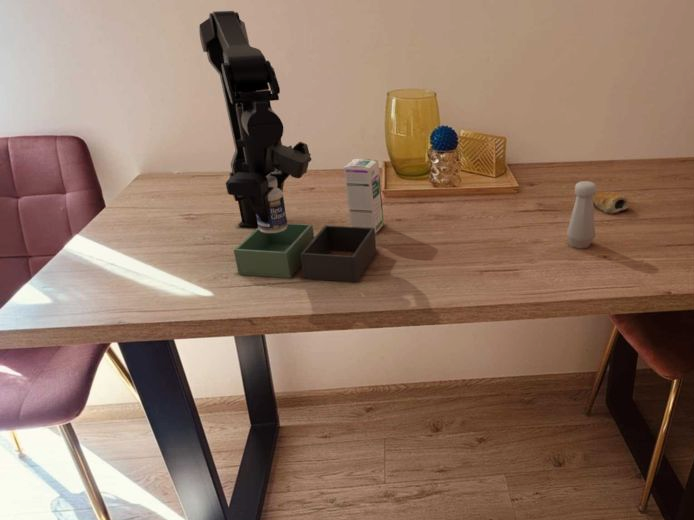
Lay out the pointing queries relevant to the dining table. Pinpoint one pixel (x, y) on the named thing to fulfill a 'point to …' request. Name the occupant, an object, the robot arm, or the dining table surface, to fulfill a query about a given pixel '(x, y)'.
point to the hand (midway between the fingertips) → (271, 216)
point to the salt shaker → (582, 216)
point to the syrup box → (364, 193)
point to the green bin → (273, 251)
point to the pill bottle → (274, 210)
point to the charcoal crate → (338, 266)
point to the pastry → (610, 202)
